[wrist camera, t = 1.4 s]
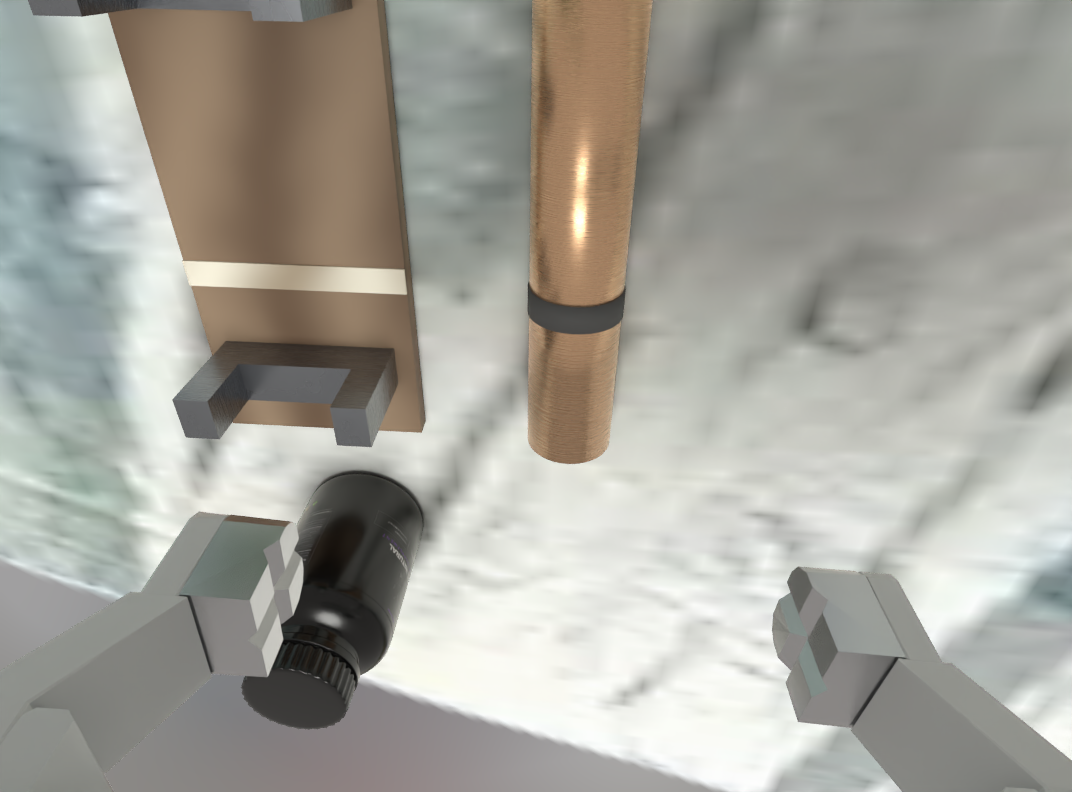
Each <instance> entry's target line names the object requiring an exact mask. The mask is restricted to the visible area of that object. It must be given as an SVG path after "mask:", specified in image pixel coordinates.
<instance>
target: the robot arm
mask: <svg viewBox="0 0 1072 792" xmlns="http://www.w3.org/2000/svg"><path fill="white" fill-rule="evenodd" d="M298 540H299V536H298V531H297V526H296V524H295V523H293V522H289V521H280V520H271V519H263V518H254V517H245V516H236V515H223V514H214V513H206V512H198V513H197V514H195V515H194V516H192V517H191V518H190V519H189V520H188V522H187V523H186V525H185V526H184V528H183V529H182V531H181V532H180V534H179V535H178V537H177V538H176V540H175V541H174V543H173V544H172V546H171V547H170V549H169V550H168V552H167V553H166V555H165V556H164V558H163V559H162V561H161V562H160V564H159V565H158V567H157V568H156V570H155V571H154V573H153V574H152V576H151V577H150V579H149V580H148V582H147V583H146V585H145V586H144V588H143V589H142V591H141V592H130V593H128V594H126V595H125V596H123V597H121V598H120V599H118V600H116V601H115V602H113V603H111V604H110V605H108V606H106V607H105V608H103V609H101V610H100V611H98V612H96V613H95V614H94V615H92V616H90V617H88V618H87V619H85V620H83V621H82V622H80V623H78V624H77V625H75V626H74V627H72V628H70V629H68V630H67V631H65V632H63V633H62V634H60V635H58V636H57V637H55V638H53V639H52V640H50V641H48V642H47V643H45V644H44V645H42V646H40V647H38V648H37V649H35V650H33V651H32V652H30V653H28V654H27V655H25V656H24V657H22V658H20V659H19V660H17V661H15V662H14V663H12V664H10V665H9V666H7V667H6V668H4V669H2V670H0V792H114V791H113V789H112V787H111V786H110V784H109V782H108V780H107V778H106V776H105V773H106V772H108V771H109V770H110V769H111V768H112V767H113V766H114V765H115V764H116V763H118V762H119V761H120V760H121V759H122V758H123V757H124V756H125V755H126V754H127V753H129V752H130V751H131V750H132V749H133V748H134V747H135V746H136V745H137V744H138V743H140V742H141V741H142V740H143V739H144V738H145V737H146V736H147V735H148V734H150V733H151V732H152V731H153V730H154V729H155V728H156V727H157V726H158V725H160V724H161V723H162V722H163V721H164V720H165V719H166V718H167V717H169V715H171V714H172V713H173V712H174V711H175V710H176V709H177V708H178V707H180V706H181V705H182V704H183V703H184V702H185V701H186V700H187V699H188V698H190V697H191V696H192V695H193V694H194V693H195V692H196V691H197V690H198V689H200V688H201V687H202V686H203V685H204V684H205V683H206V682H207V681H208V680H210V679H211V678H212V675H211V674H220V675H238V676H256V677H268V675H269V673H270V670H271V668H272V666H273V663H274V661H275V658H276V656H277V654H278V651H279V649H280V646H281V644H282V641H283V635H282V630H281V624H282V623H284V622H285V621H286V620H288V619H289V618H290V617H292V616H293V614H294V612H295V609H296V607H297V604H298V602H299V598H300V594H301V589H302V584H303V561H302V557H301V556H300V555H299V554H298V553H297V552H295V551H294V549H295V546H296V544H297V542H298ZM787 583H788V586H789V589H790V592H791V593H789V594H788V595H786V596H785V597H783V598H781V599H780V600H779V601H778V604H777V606H776V609H775V611H774V614H773V626H772V633H773V640H774V645H775V649H776V652H777V656H778V658H779V659H780V660H781V661H782V662H783V663H784V664H785V665H786V666H787V667H788V668H789V669H790V670H791V673H790V675H789V677H788V679H787V681H786V685H787V688H788V691H789V695H790V698H791V701H792V704H793V707H794V710H795V714H796V717H797V720H798V722H804V723H813V724H822V725H831V726H840V727H849V728H852V729H851V731H852V732H853V734H854V735H855V736H856V737H857V738H858V740H859V741H860V742H861V743H862V744H863V746H864V747H865V748H866V749H867V750H868V751H869V753H870V754H871V755H872V756H873V757H874V759H875V760H876V761H877V762H878V763H879V765H880V766H881V767H882V768H883V769H884V770H885V772H886V773H887V774H888V775H889V776H890V778H891V779H892V780H893V781H894V782H895V784H896V785H897V786H898V787H899V788H900V789H901V791H902V792H1072V760H1070V759H1069V758H1068V757H1067V756H1065V755H1064V754H1063V753H1062V752H1060V751H1059V750H1058V749H1057V748H1056V747H1054V746H1053V745H1052V744H1051V743H1049V742H1048V741H1047V740H1046V739H1044V738H1043V737H1042V736H1041V735H1040V734H1038V733H1037V732H1036V731H1035V730H1033V729H1032V728H1031V727H1030V726H1028V725H1027V724H1026V723H1025V722H1024V721H1022V720H1021V719H1020V718H1019V717H1017V716H1016V715H1015V714H1014V713H1012V712H1011V711H1010V710H1009V709H1007V708H1006V707H1005V706H1004V705H1003V704H1001V703H1000V702H999V701H998V700H996V699H995V698H994V697H993V696H991V695H990V694H989V693H988V692H987V691H985V690H984V689H983V688H982V687H980V686H979V685H978V684H977V683H975V682H974V681H973V680H972V679H971V678H969V677H968V676H967V675H966V674H964V673H963V672H962V671H961V670H959V669H958V668H957V667H956V666H955V665H953V664H952V663H945V662H942V661H941V659H940V657H939V655H938V653H937V651H936V650H935V648H934V646H933V644H932V642H931V640H930V639H929V637H928V635H927V633H926V631H925V630H924V628H923V626H922V624H921V622H920V620H919V619H918V617H917V615H916V613H915V611H914V609H913V608H912V606H911V604H910V602H909V600H908V598H907V597H906V595H905V593H904V591H903V589H902V587H901V586H900V584H899V582H898V580H897V579H896V578H894V577H893V576H892V575H891V574H882V573H870V572H856V571H847V570H834V569H822V568H809V567H797V568H796V569H795V570H793V571H792V573H791V575H790V577H789V579H788V581H787Z"/></svg>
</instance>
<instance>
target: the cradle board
mask: <svg viewBox="0 0 1072 792" xmlns="http://www.w3.org/2000/svg"><path fill="white" fill-rule="evenodd" d="M352 7H353V9H349V10H345V11H342V12H338V13H334V14H330V15H327V16H323V17H319V18H316V19H312V20H308V21H304V22H288V21H253V18H252V13H251V11H221V10H180V9H131V10H124V11H117V12H110V13H108V15H109V18H110V21H111V25H112V28H113V31H114V34H115V38H116V41H117V44H118V48H119V51H120V54H121V57H122V61H123V64H124V67H125V70H126V74H127V77H128V80H129V84H130V87H131V90H132V93H133V97H134V100H135V103H136V107H137V110H138V113H139V116H140V120H141V123H142V126H143V129H144V133H145V136H146V139H147V143H148V146H149V149H150V152H151V156H152V159H153V162H154V165H155V169H156V172H157V175H158V179H159V182H160V185H161V188H162V192H163V195H164V198H165V202H166V205H167V208H168V211H169V215H170V218H171V221H172V224H173V228H174V231H175V234H176V238H177V241H178V244H179V247H180V251H181V254H182V257H183V261H182V262H183V265H184V268H185V272H186V275H187V278H188V281H189V285H190V286H191V287H192V290H193V293H194V296H195V300H196V303H197V306H198V310H199V313H200V316H201V319H202V323H203V326H204V329H205V333H206V336H207V339H208V342H209V346H210V349H211V352H212V355H214V353H215V352H216V351H217V350H218V349H219V348H220V347H221V346H222V345H223V344H224V342H225V341H242V342H264V343H286V344H308V345H330V346H352V347H374V348H394V350H395V359H396V367H397V375H398V383H399V384H398V386H397V388H396V391H395V393H394V395H393V398H392V400H391V402H390V405H389V407H388V409H387V412H386V414H385V416H384V419H383V421H382V423H381V426H380V428H379V430H382V431H401V432H421V433H422V430H423V427H424V424H425V411H424V401H423V391H422V381H421V371H420V361H419V351H418V340H417V330H416V320H415V310H414V300H413V290H412V280H411V269H410V259H409V249H408V239H407V229H406V219H405V208H404V198H403V188H402V178H401V168H400V158H399V148H398V137H397V127H396V117H395V107H394V97H393V87H392V77H391V66H390V56H389V46H388V36H387V26H386V16H385V6H384V0H352ZM330 406H331V404H321V403H300V402H280V401H260V400H248V401H247V403H246V404H245V406H244V407H243V408H242V410H241V411H240V412H239V414H238V415H237V416H236V418H235V419H234V420H233V423H244V424H263V425H283V426H303V427H322V428H334V426H333V421H332V416H331V411H330Z"/></svg>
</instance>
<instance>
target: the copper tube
mask: <svg viewBox="0 0 1072 792" xmlns="http://www.w3.org/2000/svg"><path fill="white" fill-rule="evenodd" d="M652 2H653V0H532V83H531V180H530V277H529V283H528V315H529V374H528V442H529V444H530V446H531V448H532V449H533V450H534V451H535V452H536V453H537V454H539V455H540V456H542V457H544V458H546V459H548V460H551V461H554V462H558V463H566V464H576V463H583V462H587V461H591V460H593V459H595V458H597V457H599V456H600V455H602V454H603V453H604V452H605V450H606V449H607V447H608V445H609V438H610V428H611V418H612V408H613V397H614V387H615V377H616V367H617V357H618V347H619V337H620V326H621V320H622V317H623V310H624V300H625V290H626V289H625V276H626V266H627V256H628V245H629V235H630V225H631V215H632V205H633V195H634V185H635V174H636V164H637V154H638V144H639V134H640V124H641V114H642V104H643V93H644V83H645V73H646V63H647V53H648V43H649V33H650V22H651V12H652Z"/></svg>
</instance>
